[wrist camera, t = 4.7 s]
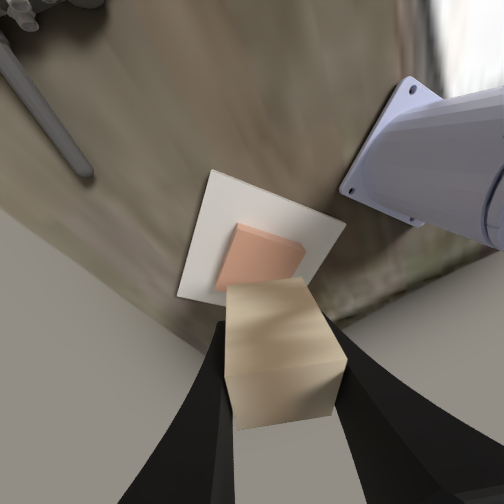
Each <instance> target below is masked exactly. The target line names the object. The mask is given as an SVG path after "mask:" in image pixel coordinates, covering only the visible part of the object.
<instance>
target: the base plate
mask: <svg viewBox="0 0 504 504" xmlns="http://www.w3.org/2000/svg"><path fill="white" fill-rule="evenodd" d="M346 225H347V224H346V223H344V222H343V221H341V220H339V219H336V218H334V217H331V216H329V215H326V214H324V213H321V212H319V211H316V210H314V209H311V208H309V207H306V206H304V205H301V204H299V203H296V202H294V201H291V200H289V199H286V198H284V197H281V196H279V195H276V194H274V193H271V192H269V191H266V190H264V189H261V188H259V187H256V186H254V185H251V184H249V183H246V182H244V181H241V180H239V179H236V178H234V177H231V176H229V175H226V174H224V173H221V172H219V171H216V170H214V169H212V170H211V173H210V176H209V180H208V184H207V187H206V191H205V195H204V198H203V202H202V206H201V209H200V213H199V217H198V220H197V224H196V227H195V231H194V235H193V238H192V242H191V246H190V249H189V253H188V257H187V260H186V264H185V268H184V271H183V275H182V278H181V282H180V286H179V289H178V293H177V296H178V297H183V298H187V299H192V300H197V301H201V302H206V303H211V304H216V305H220V306H225V307H226V297H227V285H235V284H244V283H253V282H261V281H270V280H278V279H287V278H296V277H302V278H303V280H304V282H305V284H306V286H308V284H309V283H310V281H311V280H312V278H313V276H314V275H315V273H316V272H317V270H318V269H319V267H320V266H321V264H322V262H323V261H324V259H325V258H326V256H327V255H328V253H329V251H330V250H331V248H332V247H333V245H334V244H335V242H336V240H337V239H338V237H339V236H340V234H341V233H342V231H343V229H344V228H345V226H346Z"/></svg>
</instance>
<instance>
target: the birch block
mask: <svg viewBox="0 0 504 504" xmlns="http://www.w3.org/2000/svg"><path fill="white" fill-rule="evenodd" d="M346 363H347V357H346V355H345V354H344V352H343V350H342V348H341V346H340V345H339V343H338V341H337V339H336V337H335V336H334V334H333V332H332V330H331V329H330V327H329V325H328V323H327V321H326V320H325V318H324V316H323V314H322V312H321V311H320V309H319V307H318V305H317V303H316V302H315V300H314V298H313V296H312V294H311V293H310V291H309V289H308V287H307V286H306V284H305V282H304V280H303V278H302V277H296V278H287V279H278V280H270V281H261V282H253V283H244V284H235V285H227V297H226V336H225V375H224V377H225V381H226V385H227V389H228V393H229V397H230V401H231V405H232V410H233V414H234V418H235V422H236V426H237V430H244V429H249V428H256V427H262V426H269V425H275V424H281V423H287V422H294V421H299V420H306V419H313V418H319V417H325V416H331V414H332V411H333V407H334V404H335V400H336V397H337V394H338V390H339V387H340V383H341V380H342V377H343V373H344V370H345V366H346Z"/></svg>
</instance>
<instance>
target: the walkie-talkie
mask: <svg viewBox="0 0 504 504" xmlns="http://www.w3.org/2000/svg"><path fill="white" fill-rule="evenodd" d="M63 1H65V0H0V17H1V16H4V15H6V14H8V16H10V17H11V18H13V19H15V20H16V22H17V23H18V25H19V26H20V27H21V29H23V30H25V31H30V32H32V31H37V30H38V29H39V25H38V23H37V22H36V20H35V16H36V14H38V13H40V12H42V11H44V10H46V9H48V8H50V7H53V6H55V5H57V4H59V3H61V2H63ZM68 1H69V2H71V3H72V4H74V5H75V6H78V7H81V8H89V9H92V8H96V7H99V6H101V5H102V4H103V3H104V1H105V0H68ZM0 72H1V73H2V75H3V76H4V77H5V79H6V80H7V81H8V83H9V84H10V85H11V87H12V88H13V89H14V91H15V92H16V93H17V95H18V96H19V97H20V99H21V100H22V102H23V103H24V104H25V106H26V107H27V108H28V110H29V111H30V112H31V114H32V115H33V116H34V118H35V119H36V120H37V122H38V123H39V124H40V126H41V127H42V128H43V130H44V131H45V133H46V134H47V135H48V137H49V138H50V139H51V141H52V142H53V143H54V145H55V146H56V147H57V149H58V150H59V151H60V153H61V154H62V155H63V157H64V158H65V159H66V161H67V162H68V163H69V165H70V166H71V168H72V169H73V170H74V172H75V173H76V174H77V175H78V176H80V177H83V178H89V177H91V176H92V175H93V173H94V170H93V168H92V166H91V165H90V163H89V162H88V160H87V159H86V158H85V156H84V155H83V153H82V152H81V150H80V149H79V147H78V146H77V145H76V143H75V142H74V140H73V139H72V137H71V136H70V134H69V133H68V132H67V130H66V129H65V127H64V126H63V124H62V123H61V122H60V120H59V119H58V117H57V116H56V114H55V113H54V111H53V110H52V109H51V107H50V106H49V104H48V103H47V101H46V100H45V98H44V97H43V96H42V94H41V93H40V91H39V90H38V88H37V87H36V85H35V84H34V83H33V81H32V80H31V78H30V77H29V75H28V74H27V72H26V71H25V70H24V68H23V67H22V65H21V64H20V62H19V61H18V59H17V58H16V57H15V55H14V54H13V52H12V51H11V49H10V43H9V41H8V40H7V38H6V37H5V35H4V34H3V33H2V31H1V30H0Z"/></svg>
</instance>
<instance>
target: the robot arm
mask: <svg viewBox="0 0 504 504" xmlns="http://www.w3.org/2000/svg"><path fill="white" fill-rule="evenodd" d="M410 87H411V88H412V92H411V94H409V89H410ZM351 188H352V192H351V193H349V190H350V189H351ZM339 192H340V193H341V194H342V195H345V196H347V197H349V198H351V199H354V200H356V201H358V202H360V203H363V204H365V205H367V206H369V207H372V208H374V209H376V210H378V211H381V212H383V213H385V214H387V215H390V216H392V217H394V218H396V219H399V220H401V221H403V222H405V223H408V224H410V225H412V226H414V227H420V226H422V225H423V224H424V223H425V222H426V223H428V224H431V225H434V226H436V227H439V228H442V229H444V230H447V231H450V232H452V233H455V234H458V235H460V236H463V237H466V238H468V239H471V240H474V241H476V242H479V243H482V244H484V245H487V246H490V247H492V248H495V249H498V250H501V251H503V252H504V86H501V87H497V88H492V89H488V90H484V91H480V92H475V93H471V94H467V95H462V96H458V97H454V98H449V99H445V100H443V99H442V98H440V97H439V96H438V95H436V94H435V93H433V92H432V91H431V90H429V89H428V88H427V87H425V86H424V85H422V84H421V83H420V82H418V81H417V80H416V79H414V78H413V77H410V76H409V77H406V78H403V79H402V80H401V81H400V82H399V83H398V85H397V87H396V88H395V90H394V92H393V94H392V95H391V97H390V99H389V101H388V102H387V104H386V106H385V108H384V109H383V111H382V113H381V115H380V116H379V118H378V120H377V122H376V123H375V125H374V127H373V129H372V131H371V132H370V134H369V136H368V138H367V139H366V141H365V143H364V145H363V146H362V148H361V150H360V152H359V153H358V155H357V157H356V159H355V160H354V162H353V164H352V166H351V167H350V169H349V171H348V173H347V174H346V176H345V178H344V180H343V182H342V183H341V185H340V187H339ZM411 217H412V218H411ZM410 218H411V219H410ZM320 311H321V310H320ZM321 312H322V311H321ZM322 314H323V316H324V318H325V320H326V321H327V323H328V325H329V327H330V329H331V330H332V332H333V334H334V336H335V337H336V339H337V341H338V343H339V345H340V346H341V348H342V350H343V352H344V354H345V355H346V357H347V363H346V366H345V370H344V373H343V377H342V380H341V383H340V387H339V390H338V394H337V397H336V400H335V404H334V405H335V407H336V410H337V413H338V416H339V419H340V422H341V424H342V427H343V430H344V433H345V436H346V439H347V442H348V445H349V448H350V451H351V454H352V457H353V460H354V463H355V466H356V470H357V473H358V476H359V479H360V482H361V485H362V489H363V492H364V495H365V499H366V502H367V504H504V446H503V445H501V444H500V443H498V442H496V441H494V440H493V439H491V438H489V437H487V436H486V435H484V434H482V433H480V432H479V431H477V430H475V429H474V428H472V427H470V426H469V425H467V424H465V423H464V422H462V421H460V420H459V419H457V418H455V417H454V416H452V415H451V414H449V413H447V412H446V411H444V410H442V409H441V408H439V407H438V406H436V405H435V404H433V403H432V402H430V401H429V400H428V399H426V398H424V397H423V396H422V395H420V394H419V393H417V392H416V391H414V390H413V389H411V388H410V387H408V386H407V385H406V384H404V383H403V382H402V381H400V380H399V379H397V378H396V377H395V376H393V375H392V374H391V373H389V372H388V371H387V370H386V369H384V368H383V367H382V366H381V365H379V364H378V363H377V362H375V361H374V360H373V359H372V358H371V357H370V356H368V355H367V354H366V353H365V352H364V351H363V350H361V349H360V348H359V347H358V346H357V345H356V344H355V343H354V342H353V341H351V340H350V339H349V338H348V337H347V336H346V335H345V334H344V333H343V332H342V331H341V330H340V329H339V328H338V327H337V326H336V325H335V324H334V323H333V322H332V321H331V320H330V319H329V318H328V317H327V316H326V315H325V314H324V313H323V312H322ZM225 336H226V321H219V322H218V323H217V326H216V330H215V333H214V336H213V339H212V342H211V344H210V347H209V350H208V352H207V354H206V357H205V359H204V362H203V364H202V366H201V368H200V371H199V373H198V375H197V377H196V379H195V381H194V383H193V385H192V387H191V389H190V391H189V393H188V395H187V397H186V398H185V401H184V402H183V404H182V406H181V408H180V409H179V411H178V413H177V415H176V416H175V418H174V420H173V421H172V423H171V425H170V426H169V428H168V430H167V431H166V433H165V434H164V436H163V438H162V439H161V441H160V442H159V444H158V445H157V447H156V448H155V450H154V452H153V453H152V454H151V456H150V457H149V459H148V460H147V462H146V464H145V465H144V467H143V468H142V469H141V471H140V472H139V474H138V475H137V477H136V478H135V480H134V481H133V482H132V484H131V485H130V487H129V488H128V489H127V491H126V492H125V493H124V495H123V496H122V498H121V499H120V500H119V502H118V503H117V504H235V492H234V462H233V428H232V427H233V424H232V421H233V420H232V419H233V410H232V405H231V401H230V397H229V393H228V389H227V385H226V381H225V377H224V375H225Z"/></svg>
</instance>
